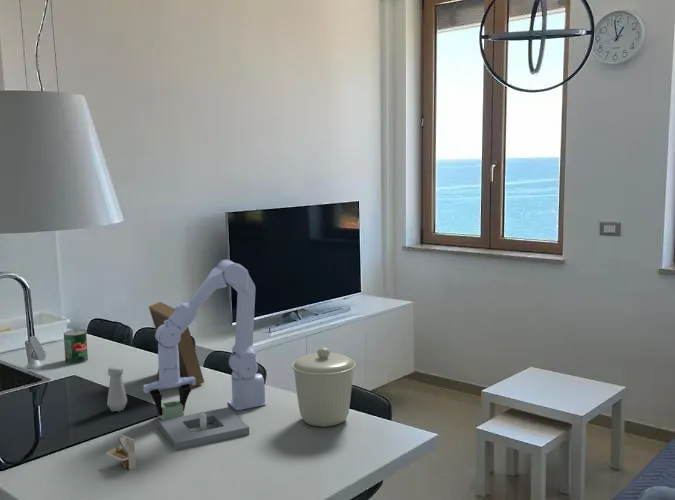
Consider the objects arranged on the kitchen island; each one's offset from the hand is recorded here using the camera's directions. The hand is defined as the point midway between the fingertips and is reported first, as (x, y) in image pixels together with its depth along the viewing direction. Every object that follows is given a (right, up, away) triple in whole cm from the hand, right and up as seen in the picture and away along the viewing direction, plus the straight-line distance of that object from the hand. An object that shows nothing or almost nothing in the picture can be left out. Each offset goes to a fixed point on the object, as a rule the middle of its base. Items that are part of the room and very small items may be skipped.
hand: (171, 412), depth 194 cm
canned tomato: (-49, +5, +57) cm, 76 cm away
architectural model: (-4, -6, -30) cm, 31 cm away
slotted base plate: (+11, -3, -10) cm, 15 cm away
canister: (+44, -2, -3) cm, 44 cm away
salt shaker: (-18, -1, +7) cm, 19 cm away
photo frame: (-8, +2, +33) cm, 34 cm away
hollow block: (0, -2, 0) cm, 2 cm away
